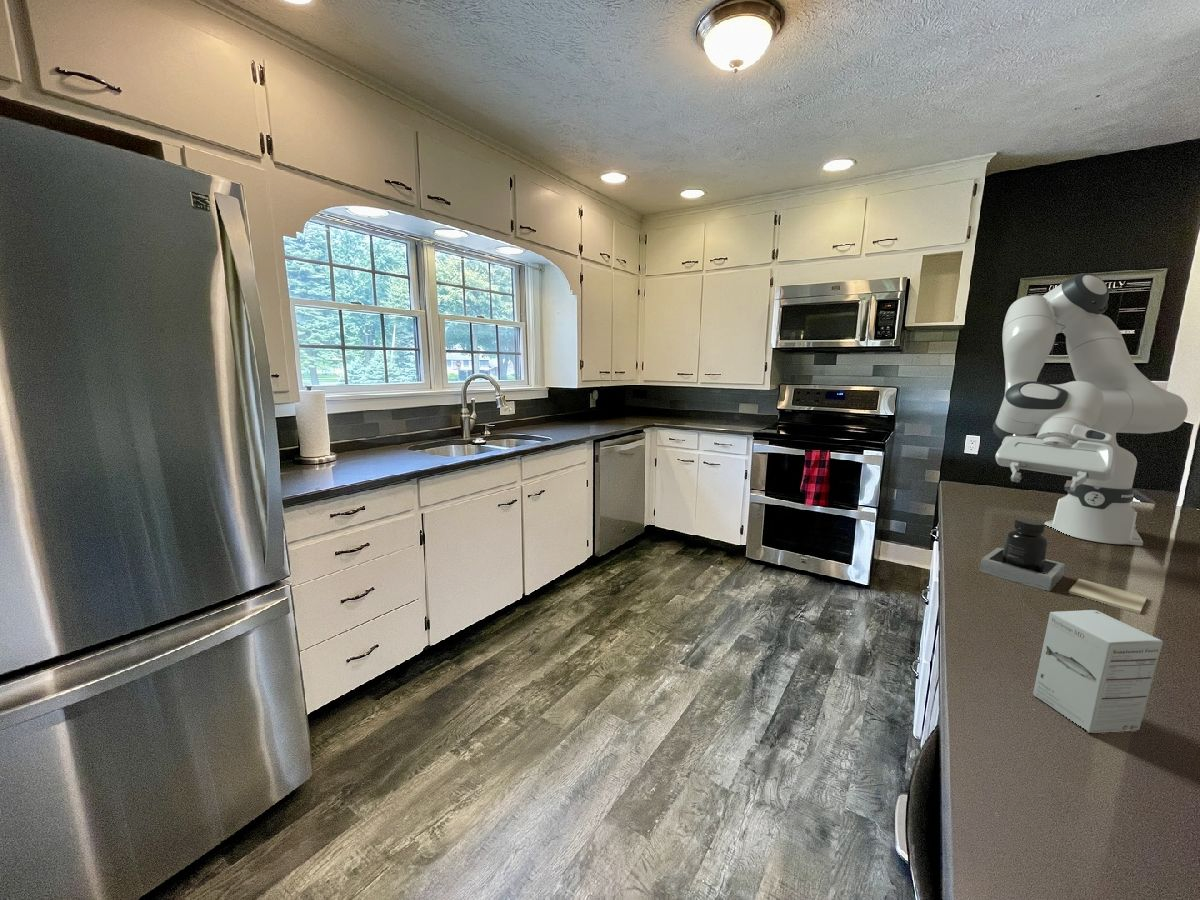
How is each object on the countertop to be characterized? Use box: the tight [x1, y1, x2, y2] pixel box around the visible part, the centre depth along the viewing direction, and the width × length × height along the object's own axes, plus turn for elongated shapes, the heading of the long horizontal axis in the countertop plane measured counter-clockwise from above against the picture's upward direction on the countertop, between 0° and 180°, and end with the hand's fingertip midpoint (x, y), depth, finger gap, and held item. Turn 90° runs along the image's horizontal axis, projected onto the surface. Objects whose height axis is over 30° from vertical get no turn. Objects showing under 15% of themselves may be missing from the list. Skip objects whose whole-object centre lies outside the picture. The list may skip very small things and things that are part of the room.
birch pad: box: [1067, 578, 1148, 615], centre depth 94 cm, size 10×10×1 cm
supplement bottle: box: [1001, 518, 1049, 574], centre depth 103 cm, size 7×7×12 cm
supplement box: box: [1032, 609, 1164, 732], centre depth 61 cm, size 7×7×13 cm
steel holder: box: [979, 546, 1066, 592], centre depth 104 cm, size 12×12×3 cm
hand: (1040, 484), depth 109 cm, fingers open, 8 cm apart
